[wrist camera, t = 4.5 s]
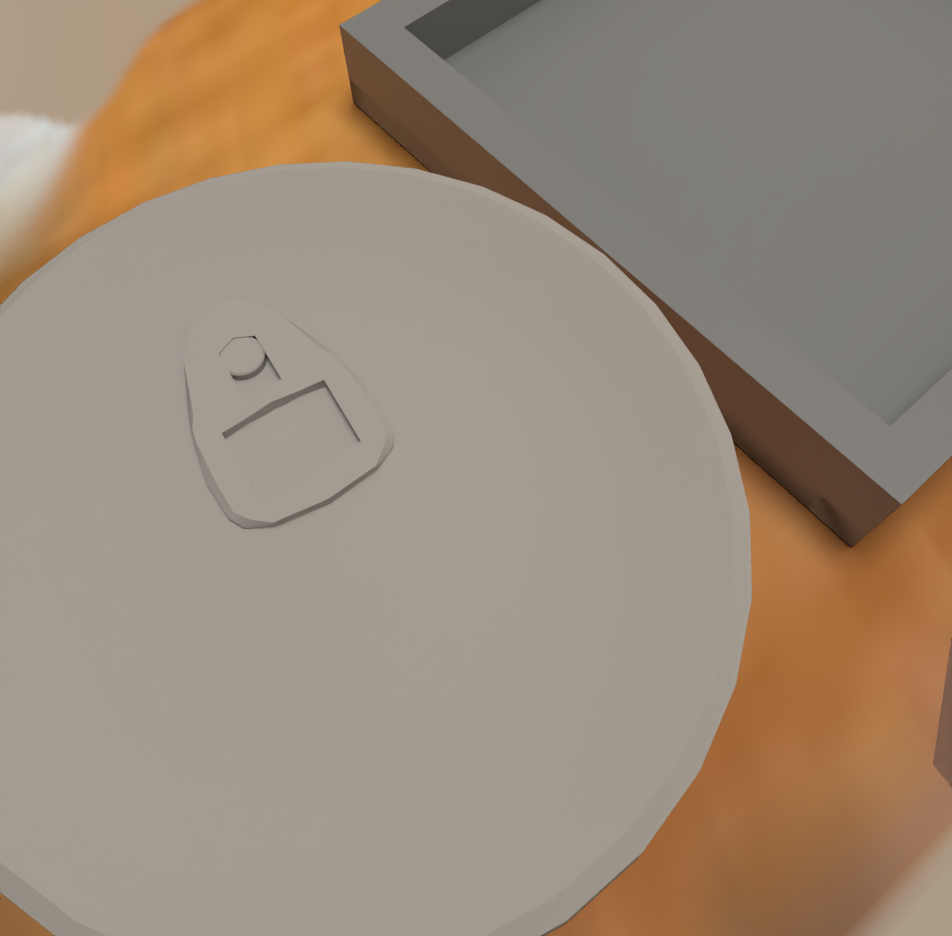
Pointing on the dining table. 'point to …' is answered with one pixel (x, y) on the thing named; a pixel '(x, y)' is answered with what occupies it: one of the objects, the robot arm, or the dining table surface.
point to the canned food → (351, 565)
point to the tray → (724, 196)
